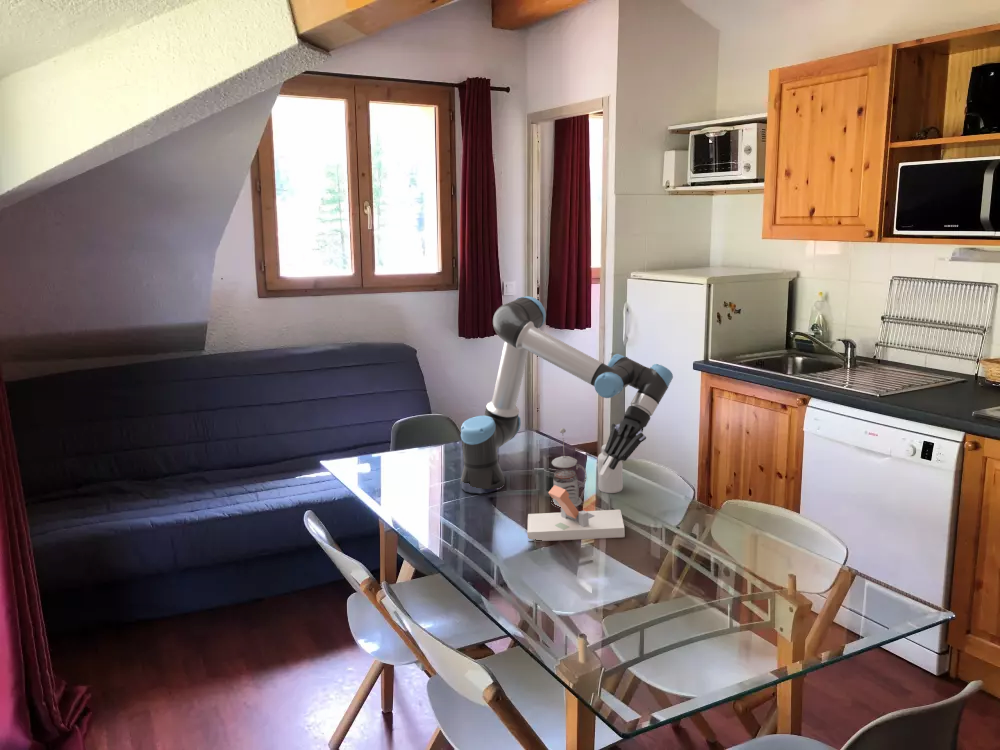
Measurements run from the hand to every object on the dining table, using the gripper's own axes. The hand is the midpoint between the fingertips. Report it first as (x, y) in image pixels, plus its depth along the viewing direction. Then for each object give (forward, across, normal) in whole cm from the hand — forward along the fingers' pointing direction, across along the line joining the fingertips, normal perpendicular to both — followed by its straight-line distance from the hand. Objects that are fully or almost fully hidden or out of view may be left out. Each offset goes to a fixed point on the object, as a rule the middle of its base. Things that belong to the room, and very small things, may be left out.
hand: (602, 476), depth 241 cm
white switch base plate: (+18, 0, -1) cm, 18 cm away
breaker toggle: (+15, 0, +1) cm, 15 cm away
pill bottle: (-2, +13, -21) cm, 25 cm away
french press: (+10, +16, -10) cm, 21 cm away
